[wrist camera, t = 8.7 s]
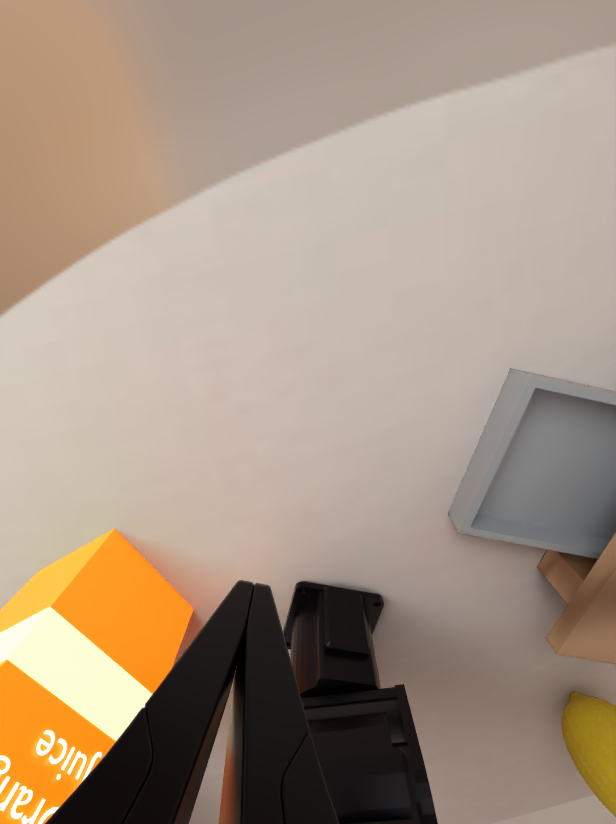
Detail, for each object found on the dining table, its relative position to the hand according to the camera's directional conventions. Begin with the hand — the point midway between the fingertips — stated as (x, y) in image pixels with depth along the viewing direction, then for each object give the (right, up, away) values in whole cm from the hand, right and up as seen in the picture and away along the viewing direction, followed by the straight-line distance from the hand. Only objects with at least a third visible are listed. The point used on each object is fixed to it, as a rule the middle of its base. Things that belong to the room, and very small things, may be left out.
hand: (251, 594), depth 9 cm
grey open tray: (+19, +1, +12) cm, 22 cm away
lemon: (+24, -19, +20) cm, 36 cm away
